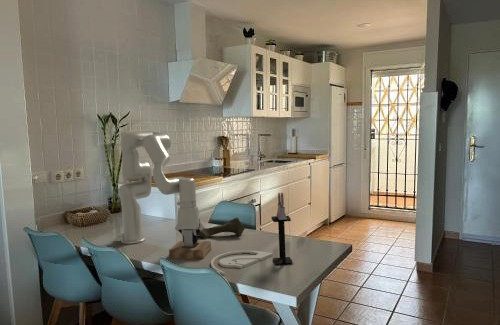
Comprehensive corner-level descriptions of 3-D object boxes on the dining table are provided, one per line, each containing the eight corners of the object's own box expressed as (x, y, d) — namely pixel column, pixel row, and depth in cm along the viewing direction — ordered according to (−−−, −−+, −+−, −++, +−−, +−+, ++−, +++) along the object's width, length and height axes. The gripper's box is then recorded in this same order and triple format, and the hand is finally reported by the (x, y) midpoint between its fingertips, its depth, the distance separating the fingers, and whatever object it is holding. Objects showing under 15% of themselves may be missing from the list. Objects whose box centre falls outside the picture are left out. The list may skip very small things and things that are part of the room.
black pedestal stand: (272, 258, 173) (269, 191, 171) (289, 257, 174) (286, 190, 172) (275, 266, 163) (273, 195, 161) (293, 265, 164) (291, 194, 161)
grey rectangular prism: (184, 251, 183) (183, 230, 182) (189, 247, 189) (188, 226, 189) (192, 251, 182) (191, 230, 181) (197, 247, 189) (196, 226, 188)
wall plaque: (273, 253, 177) (223, 272, 156) (273, 256, 177) (223, 276, 156) (244, 246, 190) (194, 263, 169) (244, 249, 190) (194, 266, 169)
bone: (187, 227, 212) (241, 217, 207) (193, 223, 222) (244, 215, 218) (191, 245, 212) (245, 236, 207) (196, 241, 222) (248, 232, 217)
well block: (169, 258, 180) (168, 249, 180) (179, 249, 194) (179, 241, 193) (203, 258, 177) (202, 250, 177) (211, 249, 191) (210, 241, 191)
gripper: (168, 206, 181) (170, 245, 183) (203, 206, 179) (205, 245, 180) (173, 203, 189) (176, 240, 190) (207, 202, 186) (209, 240, 187)
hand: (190, 242), depth 185 cm, fingers closed on grey rectangular prism, 4 cm apart
